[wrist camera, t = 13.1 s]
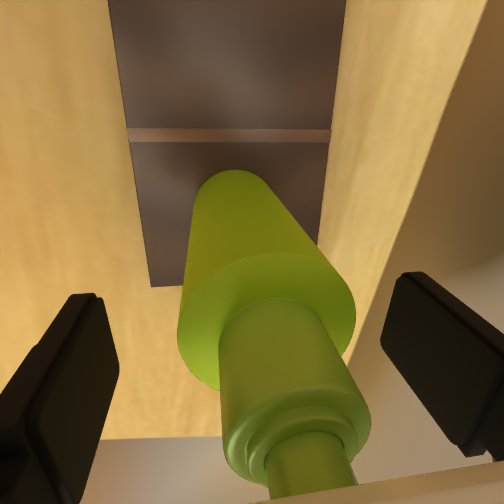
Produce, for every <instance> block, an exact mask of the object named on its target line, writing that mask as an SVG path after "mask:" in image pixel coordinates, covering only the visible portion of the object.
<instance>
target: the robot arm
mask: <svg viewBox="0 0 504 504" xmlns="http://www.w3.org/2000/svg"><path fill="white" fill-rule="evenodd" d="M380 342H381V346H382V349H383V350H384V351H385V353H386V354H387V356H388V357H389V358H390V360H391V361H392V362H393V364H394V365H395V367H396V368H397V369H398V371H399V372H400V373H401V375H402V376H403V378H404V379H405V380H406V382H407V383H408V385H409V386H410V387H411V389H412V390H413V391H414V393H415V394H416V395H417V397H418V398H419V400H420V401H421V402H422V404H423V405H424V406H425V408H426V409H427V411H428V412H429V413H430V415H431V416H432V417H433V419H434V420H435V422H436V423H437V424H438V426H439V427H440V428H441V430H442V431H443V432H444V434H445V435H446V437H447V438H448V439H449V440H450V442H452V443H453V444H455V445H457V446H458V448H459V449H460V450H461V452H462V453H463V454H464V456H465V457H472V456H478V455H483V454H484V453H485V451H486V450H488V452H489V453H490V454H491V455H492V457H493V458H492V459H493V463H487V464H481V465H475V466H468V467H463V468H457V469H450V470H444V471H438V472H432V473H426V474H420V475H414V476H408V477H402V478H396V479H390V480H385V481H378V482H373V483H367V484H360V485H354V486H349V487H343V488H337V489H331V490H325V491H319V492H313V493H308V494H302V495H296V496H290V497H284V498H278V499H273V500H267V501H261V502H256V503H251V504H504V334H503V333H501V332H500V331H499V330H498V329H496V328H495V327H494V326H493V325H491V324H490V323H488V322H487V321H486V320H485V319H483V318H482V317H481V316H480V315H478V314H477V313H476V312H474V311H473V310H472V309H471V308H469V307H468V306H467V305H465V304H464V303H463V302H461V301H460V300H459V299H458V298H456V297H455V296H454V295H452V294H451V293H450V292H448V291H447V290H446V289H445V288H443V287H442V286H441V285H439V284H438V283H437V282H435V281H434V280H433V279H432V278H430V277H429V276H428V275H426V274H425V273H423V272H406V273H403V274H402V275H401V277H399V278H398V279H397V280H396V283H395V287H394V290H393V294H392V298H391V302H390V305H389V309H388V312H387V316H386V319H385V323H384V327H383V331H382V334H381V339H380ZM118 377H119V361H118V357H117V353H116V349H115V345H114V341H113V337H112V333H111V329H110V325H109V321H108V317H107V313H106V309H105V305H104V301H103V299H102V298H101V297H98V298H97V297H96V295H95V294H94V293H84V294H72V295H71V296H70V297H69V298H68V300H67V301H66V303H65V304H64V305H63V307H62V308H61V310H60V311H59V313H58V314H57V316H56V317H55V319H54V320H53V322H52V323H51V325H50V326H49V328H48V329H47V331H46V332H45V334H44V335H43V337H42V338H41V340H40V341H39V343H38V344H37V345H35V346H34V347H33V348H32V349H31V350H30V352H29V353H28V355H27V356H26V357H25V359H24V360H23V362H22V363H21V365H20V366H19V368H18V369H17V371H16V372H15V374H14V375H13V376H12V378H11V379H10V381H9V382H8V384H7V385H6V387H5V388H4V390H3V391H2V392H1V394H0V504H79V503H80V501H81V499H82V496H83V493H84V490H85V486H86V483H87V480H88V476H89V473H90V470H91V467H92V463H93V460H94V456H95V453H96V450H97V447H98V443H99V440H100V437H101V433H102V430H103V427H104V423H105V420H106V417H107V413H108V410H109V407H110V403H111V400H112V397H113V393H114V390H115V387H116V383H117V380H118Z"/></svg>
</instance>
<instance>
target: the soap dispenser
mask: <svg viewBox="0 0 504 504" xmlns="http://www.w3.org/2000/svg"><path fill="white" fill-rule="evenodd" d="M355 322H356V308H355V303H354V299H353V296H352V293H351V291H350V289H349V287H348V286H347V284H346V282H345V281H344V280H343V278H342V277H341V276H340V275H339V273H338V272H337V271H336V270H335V268H334V267H333V266H332V265H331V263H330V262H329V261H328V260H327V258H326V257H325V256H324V255H323V254H322V252H321V251H320V250H319V249H318V247H317V246H316V245H315V244H314V242H313V241H312V240H311V239H310V237H309V236H308V235H307V234H306V232H305V231H304V230H303V229H302V227H301V226H300V225H299V224H298V222H297V221H296V220H295V219H294V217H293V216H292V215H291V214H290V212H289V211H288V210H287V209H286V207H285V206H284V205H283V204H282V202H281V201H280V200H279V199H278V197H277V196H276V195H275V194H274V192H273V191H272V190H271V189H270V187H269V186H268V185H267V184H266V183H265V182H264V181H263V180H262V179H261V178H260V177H258V176H257V175H255V174H253V173H250V172H247V171H243V170H227V171H223V172H220V173H218V174H216V175H214V176H212V177H211V178H209V179H208V180H207V181H206V182H205V183H204V184H203V185H202V186H201V188H200V189H199V191H198V193H197V195H196V198H195V201H194V207H193V214H192V222H191V229H190V237H189V244H188V252H187V259H186V267H185V274H184V282H183V289H182V297H181V304H180V312H179V320H178V328H177V341H178V347H179V351H180V354H181V356H182V358H183V360H184V362H185V364H186V366H187V367H188V368H189V370H190V371H191V372H192V373H193V374H194V375H195V376H196V377H197V378H198V379H199V380H200V381H202V382H203V383H205V384H206V385H208V386H210V387H211V388H213V389H215V390H218V391H220V399H221V420H222V439H223V449H224V454H225V458H226V461H227V462H228V464H229V466H230V467H231V468H232V469H233V470H234V472H236V473H237V474H238V475H239V476H241V477H242V478H244V479H246V480H248V481H251V482H253V483H257V484H261V485H263V486H265V487H268V488H269V494H270V500H273V499H278V498H284V497H290V496H296V495H302V494H308V493H313V492H319V491H325V490H331V489H337V488H343V487H349V486H354V485H358V483H357V480H356V478H355V475H354V472H353V470H352V467H351V465H350V463H351V462H352V460H353V458H354V457H355V456H356V455H357V454H358V453H359V452H360V450H361V449H362V448H363V446H364V445H365V443H366V441H367V439H368V437H369V434H370V430H371V416H370V412H369V409H368V406H367V405H366V402H365V400H364V398H363V396H362V395H361V393H360V391H359V389H358V387H357V385H356V383H355V381H354V380H353V378H352V376H351V374H350V372H349V371H348V369H347V367H346V365H345V363H344V361H343V359H342V358H341V356H342V355H343V353H344V352H345V350H346V348H347V347H348V345H349V343H350V340H351V338H352V335H353V332H354V328H355Z"/></svg>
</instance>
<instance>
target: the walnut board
mask: <svg viewBox="0 0 504 504" xmlns="http://www.w3.org/2000/svg"><path fill="white" fill-rule="evenodd" d="M345 6H346V0H108V7H109V13H110V20H111V26H112V33H113V40H114V46H115V53H116V59H117V66H118V73H119V79H120V86H121V92H122V99H123V105H124V112H125V119H126V125H127V135H128V142H129V145H130V152H131V158H132V165H133V171H134V178H135V185H136V191H137V198H138V204H139V211H140V217H141V224H142V231H143V237H144V244H145V250H146V257H147V264H148V270H149V277H150V283H151V287H163V286H181V285H183V282H184V274H185V267H186V259H187V252H188V244H189V237H190V229H191V222H192V214H193V207H194V201H195V198H196V195H197V193H198V191H199V189H200V188H201V186H202V185H203V184H204V183H205V182H206V181H207V180H208V179H209V178H211V177H212V176H214V175H216V174H218V173H220V172H223V171H227V170H243V171H247V172H250V173H253V174H255V175H257V176H258V177H260V178H261V179H262V180H263V181H264V182H265V183H266V184H267V185H268V186H269V187H270V189H271V190H272V191H273V192H274V194H275V195H276V196H277V197H278V199H279V200H280V201H281V202H282V204H283V205H284V206H285V207H286V209H287V210H288V211H289V212H290V214H291V215H292V216H293V217H294V219H295V220H296V221H297V222H298V224H299V225H300V226H301V227H302V229H303V230H304V231H305V232H306V234H307V235H308V236H309V237H310V239H311V240H312V241H313V242H314V244H315V245H316V246H317V241H318V233H319V225H320V216H321V208H322V199H323V191H324V183H325V174H326V166H327V157H328V149H329V142H330V138H331V124H332V116H333V107H334V99H335V90H336V82H337V74H338V65H339V57H340V48H341V40H342V32H343V23H344V15H345Z"/></svg>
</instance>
